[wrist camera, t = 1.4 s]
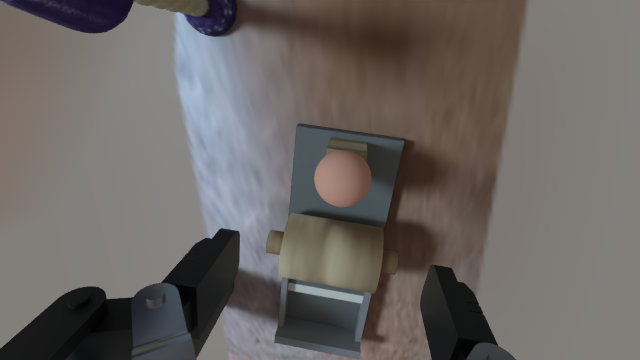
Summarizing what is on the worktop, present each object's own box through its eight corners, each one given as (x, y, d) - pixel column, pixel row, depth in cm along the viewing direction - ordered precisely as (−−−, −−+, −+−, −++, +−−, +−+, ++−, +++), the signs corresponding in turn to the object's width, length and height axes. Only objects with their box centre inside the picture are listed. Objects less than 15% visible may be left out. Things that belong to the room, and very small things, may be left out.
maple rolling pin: (275, 249, 32) (258, 287, 26) (278, 199, 29) (260, 230, 24) (386, 268, 31) (391, 312, 26) (399, 218, 29) (407, 255, 23)
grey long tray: (298, 123, 27) (291, 131, 24) (403, 138, 27) (407, 148, 24) (281, 320, 36) (274, 342, 33) (359, 335, 35) (358, 359, 33)
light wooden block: (332, 134, 27) (326, 148, 23) (366, 139, 27) (367, 154, 23) (327, 166, 28) (322, 185, 24) (361, 171, 28) (360, 191, 24)
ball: (321, 139, 23) (313, 156, 20) (375, 147, 23) (377, 165, 19) (315, 188, 25) (307, 212, 21) (365, 196, 25) (366, 221, 21)
